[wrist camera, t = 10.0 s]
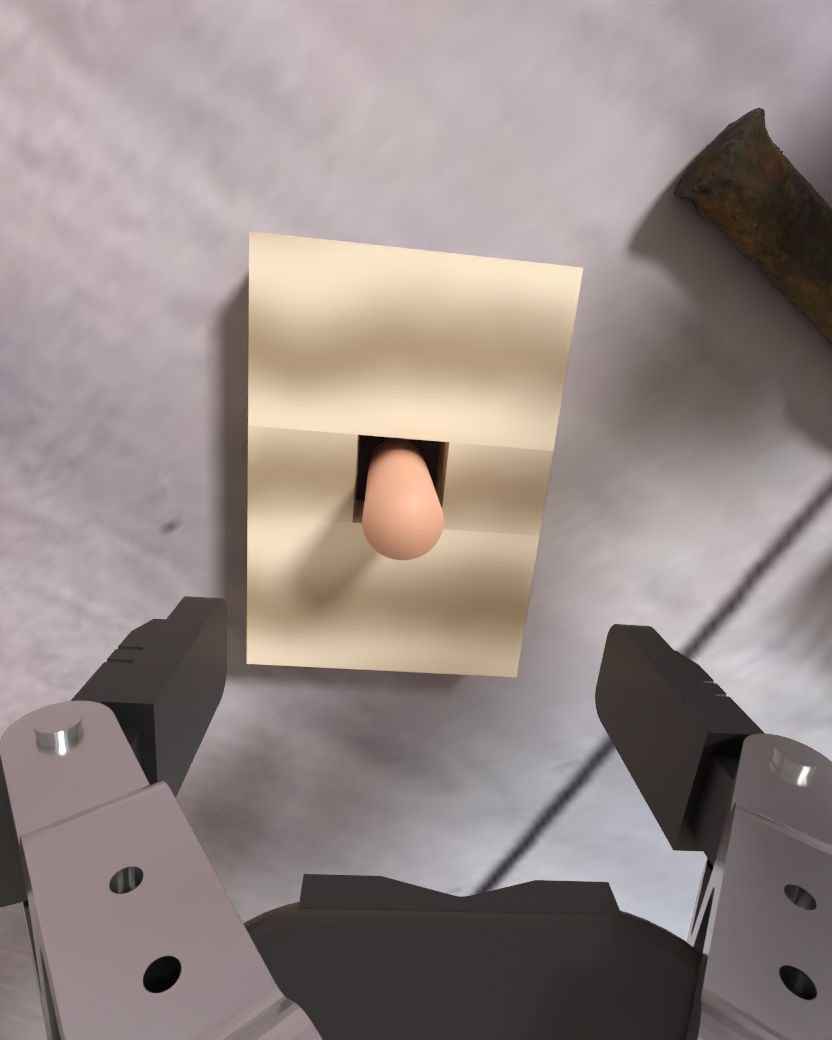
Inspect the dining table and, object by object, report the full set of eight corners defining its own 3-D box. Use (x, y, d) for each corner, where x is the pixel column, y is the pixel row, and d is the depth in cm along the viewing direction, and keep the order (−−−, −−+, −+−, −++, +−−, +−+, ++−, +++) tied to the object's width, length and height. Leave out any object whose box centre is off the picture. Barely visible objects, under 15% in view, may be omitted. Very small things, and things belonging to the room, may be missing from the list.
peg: (370, 436, 30) (364, 479, 20) (427, 441, 30) (448, 485, 21) (367, 491, 31) (359, 557, 21) (422, 495, 31) (439, 562, 21)
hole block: (268, 247, 27) (249, 231, 23) (556, 278, 28) (583, 267, 24) (262, 626, 33) (246, 663, 29) (501, 639, 34) (516, 677, 30)
